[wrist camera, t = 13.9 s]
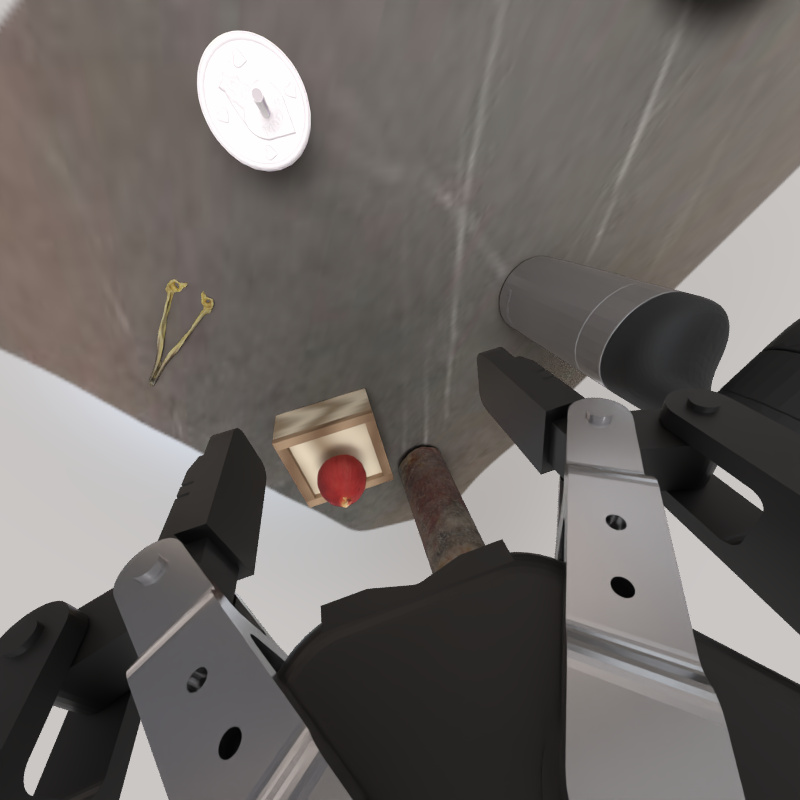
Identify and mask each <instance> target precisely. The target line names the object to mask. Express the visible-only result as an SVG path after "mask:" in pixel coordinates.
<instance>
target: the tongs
mask: <svg viewBox="0 0 800 800" xmlns="http://www.w3.org/2000/svg"><path fill="white" fill-rule="evenodd" d="M175 283H178V284H179V289H178V288H177V287H176V286H175ZM187 285H188V283H180V282H178V281H177V280H175V279H174V280H171V281H170V282H169V283H168V284H167V287H166V292H167V294H168V296H167V300H166V304H165V309H164V314H163V317H162V321H161V324H160V328H159V334H158V341H157V356H156V361H155V366H154V369H153V372H152V374H151V377H150V379H149V385H152V386H154V385H155V383H156V381H157V379H158V377H159V376H160V374H161V372H162V371H163V369H164V367H165V366H166V364H167V363H168V362H169V361H170V359H171V358H172V357H173V356H174V355H175V354H176V353H177V352H178V350H179V348H180V347H181V346H182V344H183V343H184V341H185V339H186V338H187V337H188V336H189V335H190V333H191V332H192V331H193V330H194V328H195V327H196V325H197V324H198V323H199V321H200V320H201V319H202V318H203V316H204V315H205V314H207V313H210V312H211V309H212V308H213V305H214V302H213V299H211V298H208V297H207V296H206V294H205V293H204V292H202V293H201V297H202V300H201V301H202V305H203V306H204V308H203V310H202V311H201V313H200V315H199V316H198V318H197V319H196V320H195V322H194V324H193V325H192V327H191V329H190V330H189V331H188V332H187V333H186V335H184V337H183V338H182V339H181V340H180V341H179V343H178V344H177V345H176V346H175V347H174V348H173V349H172V350H171V351H170V352H169V353H168V355H167V356H166V358H165V360H164V361H163V363H162V362H161V354H162V350H163V345H164V338H165V332H166V325H167V317H168V313H169V311H170V306H171V301H172V298H173V294H174V293H175V292H180V291H181V290H182V289H183V288H184V287H186V286H187ZM206 300H210V302H209V303H206ZM168 302H169V305H168ZM167 305H168V307H167Z"/></svg>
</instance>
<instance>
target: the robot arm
mask: <svg viewBox="0 0 800 800" xmlns="http://www.w3.org/2000/svg"><path fill="white" fill-rule="evenodd" d="M499 306H500V312H501V315H502V318H503V319H504V321H505V322H506V323H507V324H508V325H510V326H511V327H512V328H514V329H515V330H517V331H519V332H520V333H522V334H523V335H525V336H526V337H528V338H529V339H531V340H532V341H534V342H535V343H537V344H538V345H540V346H542V347H543V348H545V349H546V350H548V351H549V352H551V353H552V354H554V355H556V356H557V357H559V358H560V359H562V360H563V361H565V362H566V363H568V364H569V365H571V366H573V367H574V368H576V369H577V370H579V371H580V372H582V373H584V374H585V375H587V376H588V377H590V378H592V379H593V380H595V381H596V382H598V383H599V384H601V385H602V386H604V387H606V388H607V389H609V390H610V391H611V392H613V393H615V394H616V395H618V396H619V397H621V398H623V399H624V400H626V401H628V402H629V403H631V404H633V405H634V406H636V407H638V408H640V409H641V410H636V411H629V410H628V409H627V408H626V407H625V406H623V405H621V404H620V403H617V402H615V401H612V400H608V399H603V398H586V399H585V398H584V397H583V396H581V395H580V394H578V393H577V392H576V391H575V390H573V389H572V388H570V387H569V386H568V385H566V384H565V383H564V382H562V381H561V380H559V379H558V378H557V377H554V376H553V374H551V373H550V372H549V371H547V370H546V371H545V369H544V368H543V367H542V366H540V365H539V364H538V363H536V362H535V361H533V360H529V359H526V358H523V357H520V356H519V357H514V356H512V355H511V354H510V353H509V352H507V351H506V350H505V349H503V348H502V347H498V348H495V349H492V350H489V351H486V352H482V353H479V354H478V357H477V365H478V379H479V392H480V397H481V400H482V403H483V405H484V407H485V408H486V410H487V411H488V412H489V413H490V414H491V416H492V417H493V418H494V419H495V420H496V421H497V423H498V424H499V425H500V426H501V427H502V429H503V430H504V431H505V432H506V433H507V435H508V436H509V437H510V438H511V439H512V440H513V442H514V443H515V444H516V445H517V446H518V447H519V449H520V450H521V451H522V452H523V453H524V455H525V456H526V457H527V458H528V459H529V461H530V462H531V463H532V464H533V465H534V467H535V468H536V469H537V470H538V471H539V472H540V474H544V473H546V472H550V471H552V470H556V471H557V473H558V474H559V475H560V478H559V494H558V495H559V496H558V516H557V517H558V518H557V537H556V549H555V559H554V558H551V557H547V556H543V555H540V554H533V553H524V552H511V553H510V552H509V550H508V549H507V547H506V545H505V543H504V542H503V540H499V541H496V542H494V543H491V544H488V545H485V546H483V547H480V548H477V549H474V550H472V551H469V552H466V553H464V554H461V555H459V556H457V557H456V558H455V559H453V560H452V561H450V562H449V563H447V564H446V565H445V566H443V567H442V568H440V569H439V570H438V571H436V572H435V573H433V574H432V575H431V576H429V577H428V578H426V579H425V580H424V581H422V582H420V583H419V584H416V585H409V586H397V587H385V588H373V589H366V590H363V591H360V592H358V593H355V594H352V595H350V596H347V597H344V598H341V599H339V600H336V601H333V602H330V603H328V604H325V605H322V606H321V622H322V623H321V624H320V625H318V626H317V627H316V628H315V629H313V630H312V631H311V632H310V633H309V634H308V635H307V636H305V637H304V639H303V640H302V641H301V642H300V643H299V644H298V645H297V646H296V647H295V648H294V650H293V651H292V652H291V653H290V655H289V656H287V654H286V653H285V652H284V651H283V650H282V649H281V648H280V647H279V646H278V645H277V644H276V642H275V641H274V640H273V639H272V637H271V636H270V635H269V634H268V632H267V631H266V630H265V629H264V627H263V626H262V625H261V623H260V622H259V621H258V620H257V619H256V617H255V616H254V615H253V613H252V612H251V611H250V609H249V608H248V607H247V606H246V605H245V603H244V602H243V601H242V599H241V598H240V597H239V596H238V595H237V594H236V593H235V589H236V582H237V580H240V579H243V578H245V577H248V576H251V575H254V569H255V562H256V554H257V547H258V539H259V532H260V524H261V517H262V509H263V501H264V494H265V486H266V472H265V468H264V465H263V463H262V461H261V460H260V458H259V456H258V455H257V453H256V452H255V450H254V449H253V447H252V446H251V444H250V442H249V441H248V439H247V438H246V436H245V435H244V433H243V432H242V431H241V430H240V429H238V428H236V429H232V430H229V431H226V432H223V433H220V434H216V435H213V436H212V437H211V438H210V440H209V443H208V445H207V448H206V451H205V453H204V455H202V456H199V457H198V459H197V460H196V461H195V462H194V463H193V465H192V466H191V467H190V468H189V469H188V471H187V473H186V475H185V478H184V480H183V483H182V487H180V489H179V492H178V494H177V499H175V501H174V504H173V506H172V509H171V511H170V513H169V516H168V518H167V521H166V523H165V525H164V528H163V530H162V532H161V535H160V537H159V539H158V541H157V542H155V543H153V544H151V545H149V546H147V547H146V548H144V549H143V550H142V551H140V552H139V553H138V554H137V555H135V556H134V557H133V558H132V559H131V560H130V561H129V562H128V563H127V565H126V566H125V567H124V568H123V570H122V571H121V572H120V574H119V576H118V578H117V579H116V582H115V585H114V588H113V589H111V590H109V591H107V592H106V593H104V594H103V595H101V596H99V597H97V598H96V599H94V600H93V601H91V602H89V603H87V604H86V605H84V606H82V607H81V608H79V609H76V608H74V607H73V606H71V605H69V604H67V603H65V602H63V601H55V602H51V603H48V604H45V605H43V606H41V607H39V608H37V609H35V610H33V611H32V612H30V613H29V614H27V615H26V616H24V617H23V618H22V619H21V620H19V621H18V622H17V623H16V624H14V625H13V626H12V627H11V628H10V629H9V630H8V631H7V632H6V633H5V634H4V635H3V636H2V637H1V638H0V800H119V798H120V794H121V791H122V787H123V783H124V780H125V775H126V772H127V768H128V765H129V761H130V757H131V753H132V750H133V746H134V742H135V738H136V735H137V731H138V727H139V724H140V720H141V722H142V724H143V727H144V730H145V733H146V736H147V739H148V741H149V744H150V747H151V750H152V753H153V756H154V759H155V761H156V765H157V767H158V770H159V773H160V776H161V779H162V782H163V784H164V787H165V790H166V793H167V796H168V799H169V800H800V684H798V683H795V682H794V681H792V680H790V679H788V678H786V677H784V676H782V675H780V674H779V673H777V672H775V671H773V670H771V669H769V668H767V667H765V666H763V665H761V664H759V663H757V662H755V661H753V660H751V659H750V658H748V657H746V656H744V655H742V654H740V653H738V652H736V651H734V650H732V649H730V648H729V647H727V646H725V645H723V644H721V643H719V642H717V641H715V640H713V639H711V638H709V637H707V636H705V635H704V634H701V633H700V632H698V631H696V630H694V629H692V626H691V622H690V618H689V614H688V609H687V605H686V601H685V596H684V592H683V588H682V583H681V579H680V575H679V570H678V567H677V562H676V557H675V553H674V549H673V544H672V540H671V536H670V532H669V527H668V523H667V519H666V514H665V510H664V506H665V507H666V508H667V509H668V510H669V511H670V512H671V513H672V514H673V515H674V516H675V517H677V519H678V520H679V521H680V522H681V523H683V524H684V525H685V526H686V527H687V528H688V529H689V530H690V531H691V532H692V533H693V534H694V535H695V536H696V537H697V538H698V539H700V541H702V542H703V543H704V544H705V545H706V546H707V547H708V548H709V549H710V550H711V551H712V552H713V553H714V554H715V555H716V556H717V557H718V558H720V559H721V560H722V561H723V562H724V563H725V564H726V565H727V566H728V567H729V568H730V569H731V570H732V571H733V572H734V573H735V574H736V575H738V577H739V578H741V579H742V580H743V581H744V582H745V583H746V584H747V585H748V586H749V587H750V588H751V589H752V590H753V591H754V592H755V593H757V595H758V596H760V597H761V598H762V599H763V600H764V601H765V602H766V603H767V604H768V605H769V606H770V607H771V608H772V609H773V610H774V611H775V612H776V613H778V614H779V615H780V616H781V617H782V618H783V619H784V620H785V621H786V622H787V623H788V624H789V625H790V626H791V627H792V628H793V629H794V630H795V631H796V632H797V633H799V634H800V319H799V320H797V321H796V322H794V323H793V324H792V325H791V326H789V327H788V328H787V329H786V330H784V331H783V332H782V333H781V334H780V335H779V336H778V337H777V338H775V339H774V340H773V341H772V342H771V343H770V344H769V345H768V346H767V347H765V348H764V349H763V351H762V352H760V353H759V354H758V355H757V356H756V357H755V358H754V359H753V360H751V361H750V362H749V363H748V364H747V365H746V366H745V367H744V368H743V369H742V370H741V371H740V372H739V373H738V374H736V375H735V376H734V377H733V378H732V379H731V380H730V381H729V382H728V383H727V384H726V385H725V386H723V388H721V390H720V391H718V392H713V391H711V384H712V380H713V377H714V373H715V371H716V368H717V366H718V364H719V361H720V360H721V357H722V355H723V353H724V350H725V347H726V344H727V341H728V336H729V320H728V316H727V314H726V312H725V311H724V309H723V308H722V307H721V306H720V305H719V304H717V303H716V302H714V301H712V300H710V299H707V298H704V297H701V296H697V295H693V294H689V293H685V292H681V291H677V290H674V289H670V288H666V287H662V286H658V285H655V284H651V283H646V282H642V281H639V280H635V279H631V278H627V277H625V276H623V275H619V274H615V273H611V272H607V271H604V270H600V269H596V268H592V267H588V266H584V265H580V264H577V263H573V262H569V261H563V260H559V259H555V258H551V257H547V256H537V257H533V258H530V259H528V260H526V261H524V262H522V263H521V264H520V265H519V266H517V267H516V268H515V269H514V270H513V271H512V273H511V274H510V275H509V277H508V278H507V280H506V281H505V283H504V286H503V288H502V291H501V294H500V302H499ZM717 465H718V466H720V467H721V468H722V469H724V470H725V471H727V472H728V473H730V474H731V475H732V476H734V477H735V478H737V479H738V480H739V481H741V482H742V483H743V484H745V485H746V486H748V487H749V488H751V489H752V490H753V491H754V492H755V493H756V494H757V495H758V496H759V498H760V499H761V501H762V503H763V507H764V511H761V510H760V509H759V508H757V507H756V506H755V505H753V504H752V503H751V502H749V501H748V500H747V499H745V498H744V497H743V496H741V495H740V494H739V493H737V492H736V491H735V490H733V489H732V488H731V487H729V486H728V485H727V484H725V483H724V482H723V481H721V480H720V479H719V478H717V477H716V476H715V475H713V472H714V470H715V469H716V467H717ZM663 505H664V506H663ZM52 706H56V707H59V708H63V709H66V710H69V711H68V713H67V715H66V718H65V720H64V723H63V725H62V727H61V730H60V732H59V735H58V737H57V739H56V742H55V744H54V747H53V749H52V752H51V754H50V756H49V759H48V761H47V764H46V767H45V768H44V771H43V773H42V776H41V778H40V781H39V783H38V785H37V788H36V790H35V793H34V795H33V796H30V795H29V794H28V793H27V792H26V790H25V788H24V782H23V780H24V771H25V767H26V764H27V762H28V759H29V757H30V755H31V753H32V751H33V748H34V746H35V744H36V742H37V739H38V737H39V735H40V733H41V731H42V728H43V726H44V724H45V721H46V719H47V717H48V715H49V713H50V711H51V708H52Z"/></svg>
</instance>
